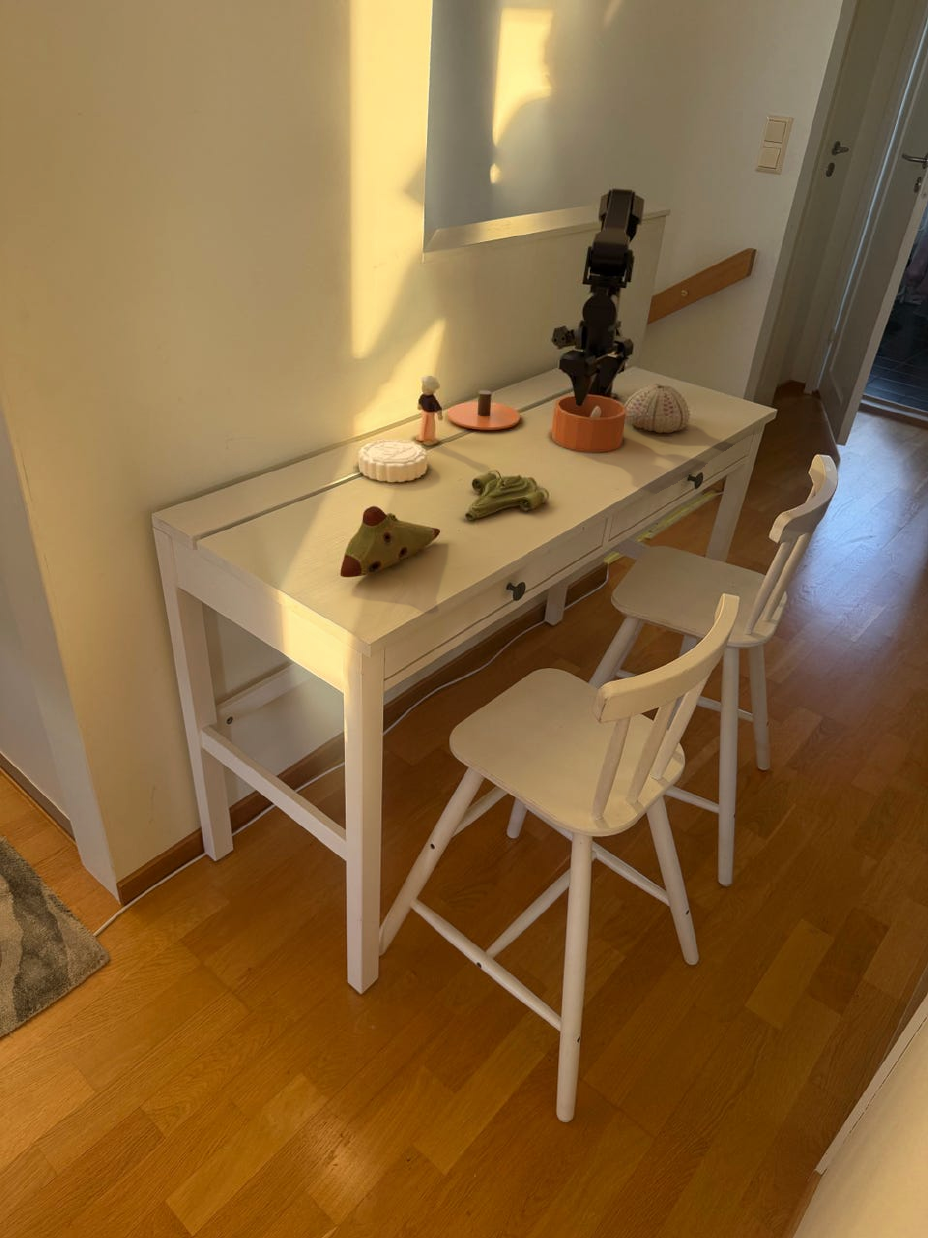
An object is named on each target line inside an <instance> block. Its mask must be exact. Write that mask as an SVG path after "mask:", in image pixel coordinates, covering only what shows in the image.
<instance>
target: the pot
mask: <svg viewBox="0 0 928 1238" xmlns="http://www.w3.org/2000/svg"><path fill="white" fill-rule="evenodd" d="M596 406H598V407H599V408H600V409H601V415H600V417H599V418H591V417H590V416H591V414H592V412H593V410H594V409H595V407H596ZM626 411H627V408H626V407H625V406H624V403H623V402H621V401H618V400H617V399H615V398H613V399H611V398H607V397H604V396H598V395H589V394H588V395H587V397H586V399H585V401H584V403H583V405H582V406H578V405H577V404H576V400H575V395H574V394H568V395H563V396H561V397H559V398H557V399H556V400H555V402H554V405H553V412H552V413H553V415H552V425H551V432H550V434H551V438H552V440H553V442H554V443H556V444H557V445H559V446H561V447H564V448H566V449H569V450H573V451H578V452H584V453H585V452H586V453H602V452H603V453H604V452H609V451H613V450H616V449H617V448H619V447H620V446H621V445H622V443H623V438H624V437H623V436H624V430H625V424H626V419H627V418H626Z"/></svg>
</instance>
